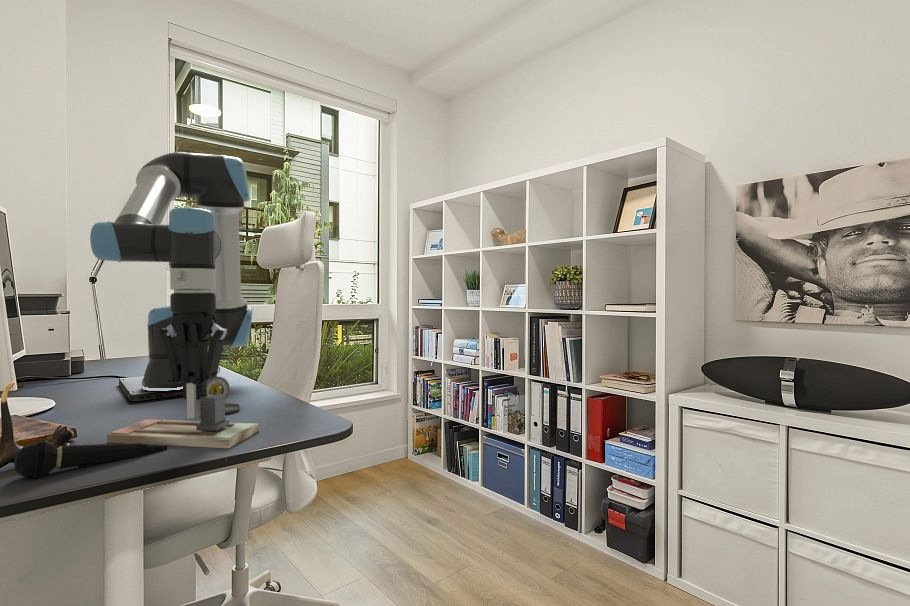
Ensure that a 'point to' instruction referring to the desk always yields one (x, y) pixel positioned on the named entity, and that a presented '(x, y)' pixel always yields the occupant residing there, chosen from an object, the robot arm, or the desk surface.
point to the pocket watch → (214, 386)
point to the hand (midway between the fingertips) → (195, 416)
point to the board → (182, 434)
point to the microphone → (74, 456)
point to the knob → (212, 413)
